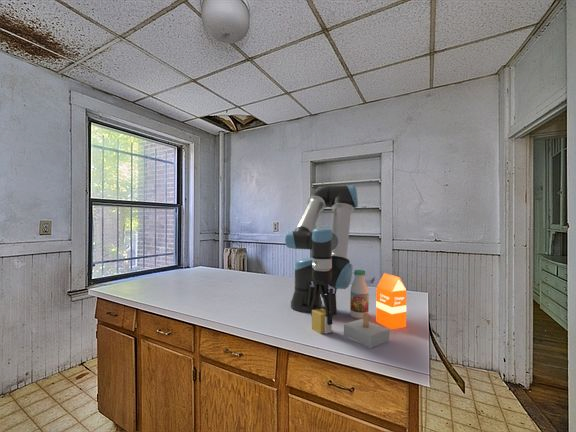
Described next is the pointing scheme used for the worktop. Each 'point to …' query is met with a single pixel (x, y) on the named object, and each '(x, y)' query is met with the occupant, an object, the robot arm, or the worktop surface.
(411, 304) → the worktop surface
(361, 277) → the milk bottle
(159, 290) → the worktop surface
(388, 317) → the orange juice
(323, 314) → the yellow rectangular block
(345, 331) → the toggle switch box
